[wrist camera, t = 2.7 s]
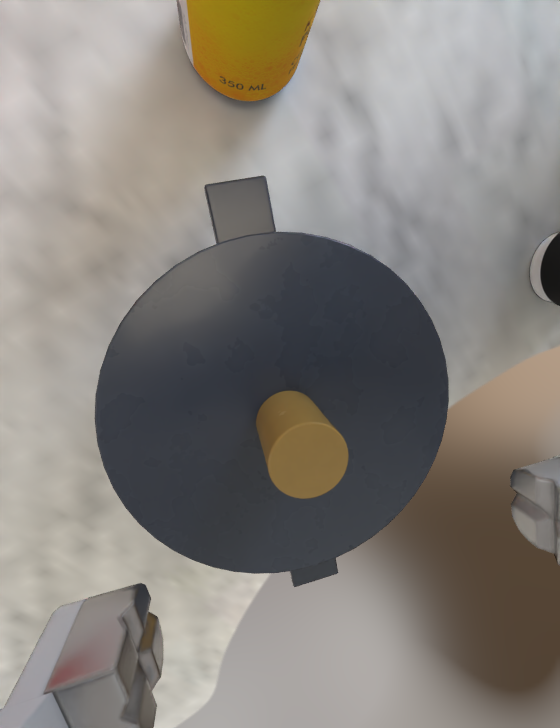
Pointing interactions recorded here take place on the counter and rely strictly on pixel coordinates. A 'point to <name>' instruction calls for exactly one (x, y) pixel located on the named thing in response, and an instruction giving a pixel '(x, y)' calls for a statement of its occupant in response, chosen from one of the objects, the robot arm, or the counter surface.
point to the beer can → (246, 42)
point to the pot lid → (271, 402)
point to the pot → (237, 219)
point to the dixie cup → (547, 269)
